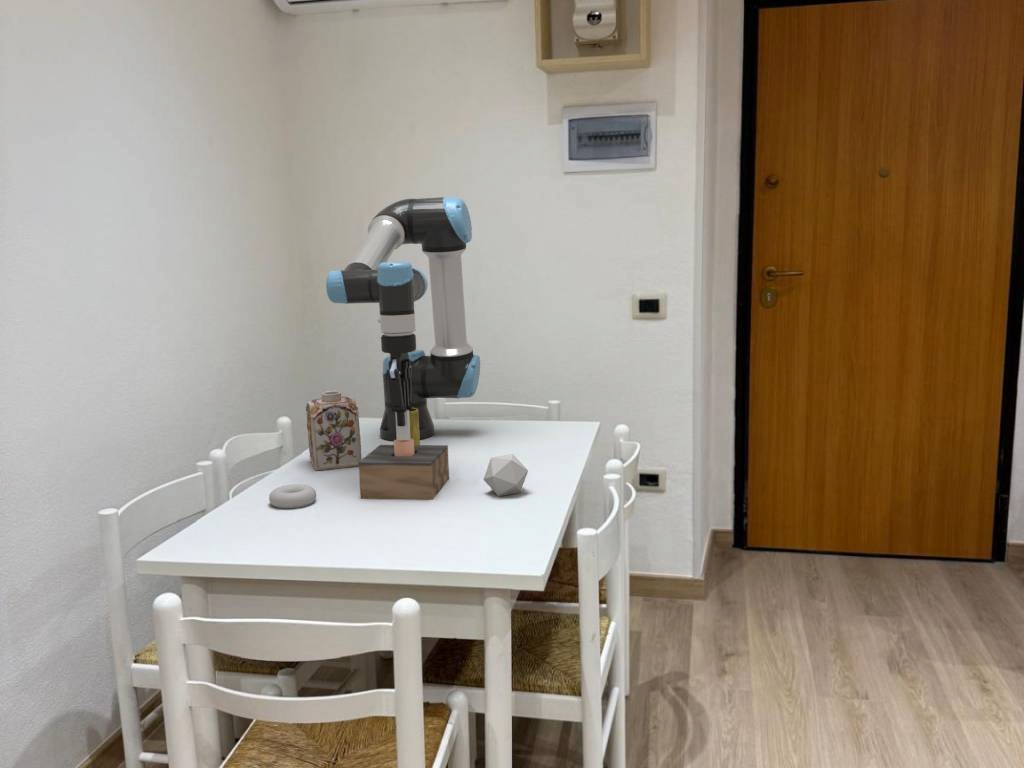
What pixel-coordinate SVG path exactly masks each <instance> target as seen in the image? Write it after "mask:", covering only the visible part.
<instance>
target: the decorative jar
mask: <svg viewBox="0 0 1024 768" xmlns="http://www.w3.org/2000/svg"><path fill="white" fill-rule="evenodd" d="M305 411H306V427H307V428H306V429H307V438H308V439H307V440H308V451H309V460H310V463H311V464H312V466H313V469H314V470H315V471H316V472H318V471H328V470H335V469H345V468H346V469H347V468H356V467H359V463H358V462H360V461H361V460H362V444H361V428H360V416H359V415H360V412H359V407H358V406H357V401H356V400H355V398H353V397H348V396H342V391H340V390H339V391H338V390H328V391H327V390H326V391H324V392H321V397H320V398H314V399H312V400H309V401H308V402H307V403H306V406H305Z"/></svg>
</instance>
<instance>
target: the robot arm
mask: <svg viewBox="0 0 1024 768" xmlns="http://www.w3.org/2000/svg"><path fill="white" fill-rule="evenodd" d="M470 216H471V215H470V212H469V208H468V206H467V204H466V203H465V201H464V200H463V199H461V197H460V198H459V197H449V196H444V197H428V198H427V197H425V198H405V199H400V200H398V201H396V202H393V203H391V204H390V205H388V206H385V208H383V209H382V210H381V211H379V212H378V213H377V214H376V215H375V216H373V218H372V219H371V221H370V223H369V225H368V226H367V234H366V236H365V238H364V240H362V243H361V244H360V245H359V247H358V249H357V250H356V251H355V253H354V255H353V256H352V258H351V259H350V261H349V263H348V264H347V266H346V267H345V268H344V269H338V270H332V271H330V272H329V273H328V275H327V276H326V282H325V286H326V287H325V288H326V295H327V297H328V300H329V301H330V302H331V303H333V304H345V305H348V304H378V305H379V318H378V319H377V322H378V323H379V324H380V332H381V333H382V334H383V335H381V336H380V343H381V344H380V346H381V351H382V353H385V354H389V355H387V356H386V357H384V359H383V360H382V372H381V373H382V380H383V381H382V383H383V384H382V385H383V396H384V397H383V398H384V412H383V415H382V419H381V423H380V426H379V437H380V438H381V439H382V440H385V441H393V442H394V440H396V439H397V440H410V421H409V410H407V409H413V408H417V409H418V412H419V433H420V440H422V439H423V440H424V439H427V438H430V437H433V436H434V435H435V434H436V433H435V431H436V430H435V425H434V421H433V419H432V417H431V413H430V411H429V409H428V400H427V399H457V400H458V399H465V398H466V399H467V398H472V397H474V396H475V394H476V392H477V390H478V386H479V381H480V374H481V359H480V358H481V357H480V356H479V355H477V354H474V348H473V346H472V345H471V344H470V343H468V340H467V326H466V325H467V324H466V323H467V322H466V311H465V296H464V295H465V294H464V282H463V281H464V278H463V267H462V266H463V265H462V263H463V262H462V254H464V252H465V251H466V250H467V244H468V243H470V242H471V241H472V238H473V237H472V236H473V233H472V231H473V228H472V227H473V226H472V221H471V217H470ZM410 244H412V245H413V244H414V245H418V244H419V245H421V251H422V254H424V255H426V257H427V258H428V264H429V265H428V267H429V268H428V269H429V279H430V281H429V282H430V293H431V307H432V318H433V319H432V321H433V333H434V342H435V343H434V346H433V347H432V348H431V349H430V351H429V353H430V355H426V353H425V351H424V350H423V349H417V339H416V337H417V336H416V334H415V333H414V332H416V315H415V314H416V313H415V302H417V301H419V300H420V299H421V298H422V297H423V296H424V295H425V294H426V292H427V289H428V280H427V276H426V275H425V274H424V273H423V272H422V271H421V270H419V269H417V268H414V267H413V265H412V264H411V262H410V261H389V259H390V258H391V256H392V254H393V253H394V251H395V250H397V249H399V248H400V247H401V246H402V245H410Z"/></svg>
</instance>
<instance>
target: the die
mask: <svg viewBox="0 0 1024 768" xmlns="http://www.w3.org/2000/svg"><path fill="white" fill-rule="evenodd" d="M528 472H529V469H528V468H527V467H526V466H525V465H524V464H523V463H522V462H521V461H520V460H519V459H518V457H516V455H514V454H513V453H512V454H511V453H510V454H504V455H498V456H491V457H490V460H489V462H488V466H487V468H486V471H485V473H484V476H483V481H484V482H485V483H486V484H487V485H488V486H489V487H490V489H491V490H492V491H493V492H494V493H495V494H496V495H497V497H502V496H508V495H513V494H515V495H516V494H519V492H520V493H521V491H522V489H523V487H524V484H525V481H526V478H527V475H528Z"/></svg>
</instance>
